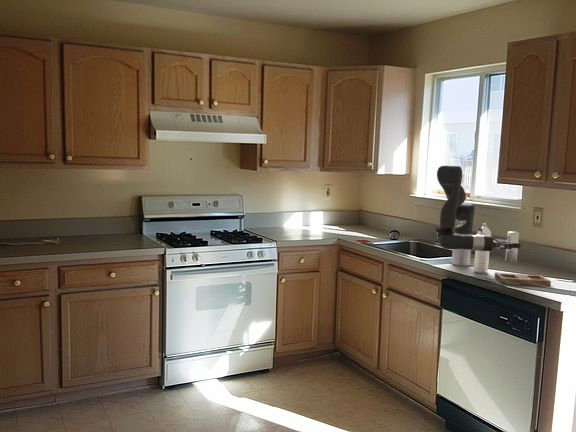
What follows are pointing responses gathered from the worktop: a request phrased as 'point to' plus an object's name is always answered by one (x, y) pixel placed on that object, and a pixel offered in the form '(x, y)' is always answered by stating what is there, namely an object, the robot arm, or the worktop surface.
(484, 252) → the water bottle
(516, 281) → the wooden tray
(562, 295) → the worktop surface
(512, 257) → the peg
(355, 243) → the worktop surface
